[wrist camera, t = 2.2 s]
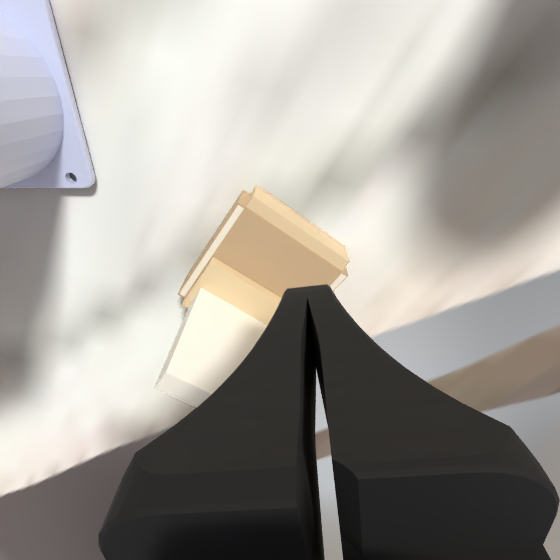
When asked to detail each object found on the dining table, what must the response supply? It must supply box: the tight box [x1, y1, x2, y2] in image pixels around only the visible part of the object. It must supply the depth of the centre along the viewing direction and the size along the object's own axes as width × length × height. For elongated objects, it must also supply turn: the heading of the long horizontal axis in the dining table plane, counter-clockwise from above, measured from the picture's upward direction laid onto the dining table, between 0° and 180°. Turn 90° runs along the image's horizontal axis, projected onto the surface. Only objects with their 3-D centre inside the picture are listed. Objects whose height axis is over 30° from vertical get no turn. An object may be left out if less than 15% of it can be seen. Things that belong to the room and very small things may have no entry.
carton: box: [178, 185, 350, 298], centre depth 19 cm, size 7×6×2 cm
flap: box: [154, 257, 282, 408], centre depth 16 cm, size 3×6×6 cm, turn 55°
